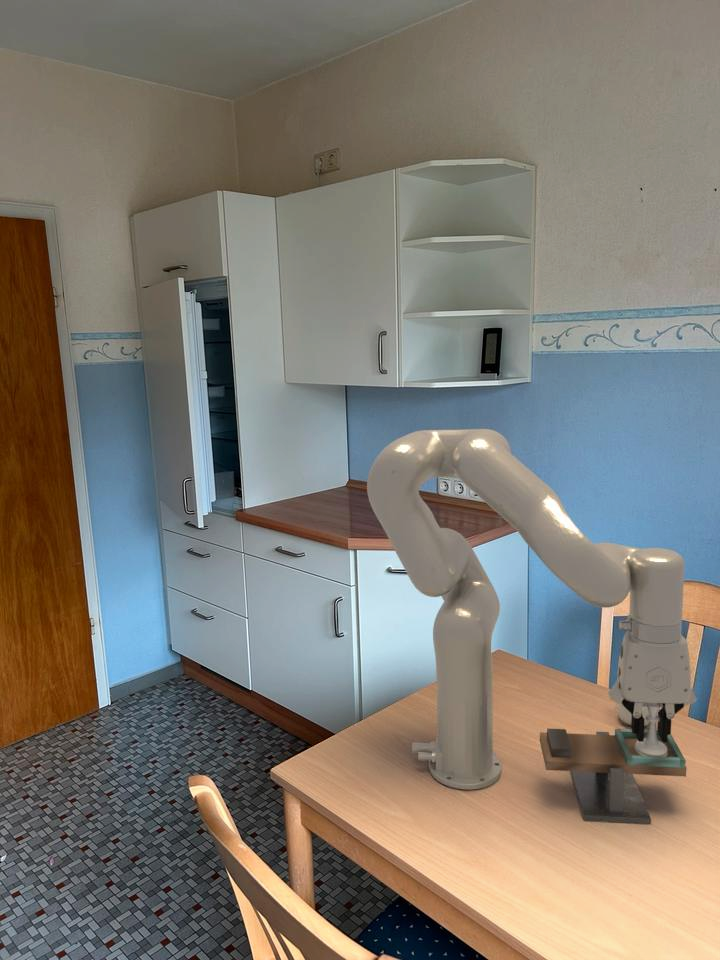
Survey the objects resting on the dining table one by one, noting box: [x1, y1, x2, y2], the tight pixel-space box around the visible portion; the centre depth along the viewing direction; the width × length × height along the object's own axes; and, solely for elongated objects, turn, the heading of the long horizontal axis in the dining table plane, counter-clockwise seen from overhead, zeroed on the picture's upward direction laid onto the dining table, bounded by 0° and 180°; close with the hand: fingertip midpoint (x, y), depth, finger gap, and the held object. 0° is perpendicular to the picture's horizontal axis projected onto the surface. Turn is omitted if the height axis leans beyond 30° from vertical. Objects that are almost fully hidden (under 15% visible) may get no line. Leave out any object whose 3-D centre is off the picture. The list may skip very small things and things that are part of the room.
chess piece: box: [635, 703, 668, 757], centre depth 114 cm, size 5×5×10 cm
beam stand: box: [569, 731, 652, 825], centre depth 117 cm, size 10×13×8 cm
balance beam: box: [539, 728, 687, 777], centre depth 116 cm, size 21×9×4 cm, turn 83°
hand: (650, 736), depth 114 cm, fingers open, 3 cm apart
